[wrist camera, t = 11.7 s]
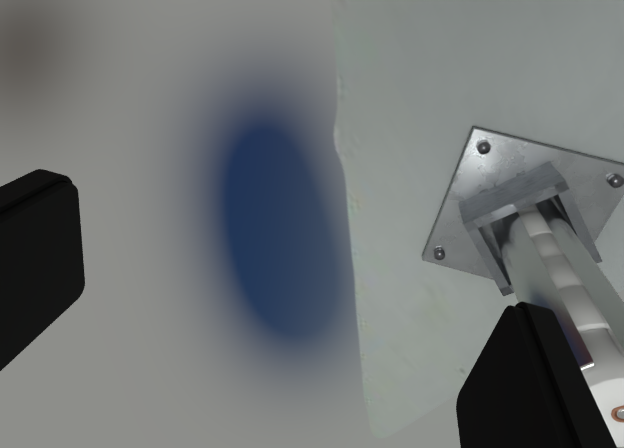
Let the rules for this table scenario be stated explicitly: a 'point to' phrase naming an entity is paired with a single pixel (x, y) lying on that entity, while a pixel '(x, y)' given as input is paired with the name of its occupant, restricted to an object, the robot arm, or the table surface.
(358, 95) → the table surface
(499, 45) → the table surface
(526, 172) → the metal base plate
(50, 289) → the robot arm
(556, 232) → the air filter
